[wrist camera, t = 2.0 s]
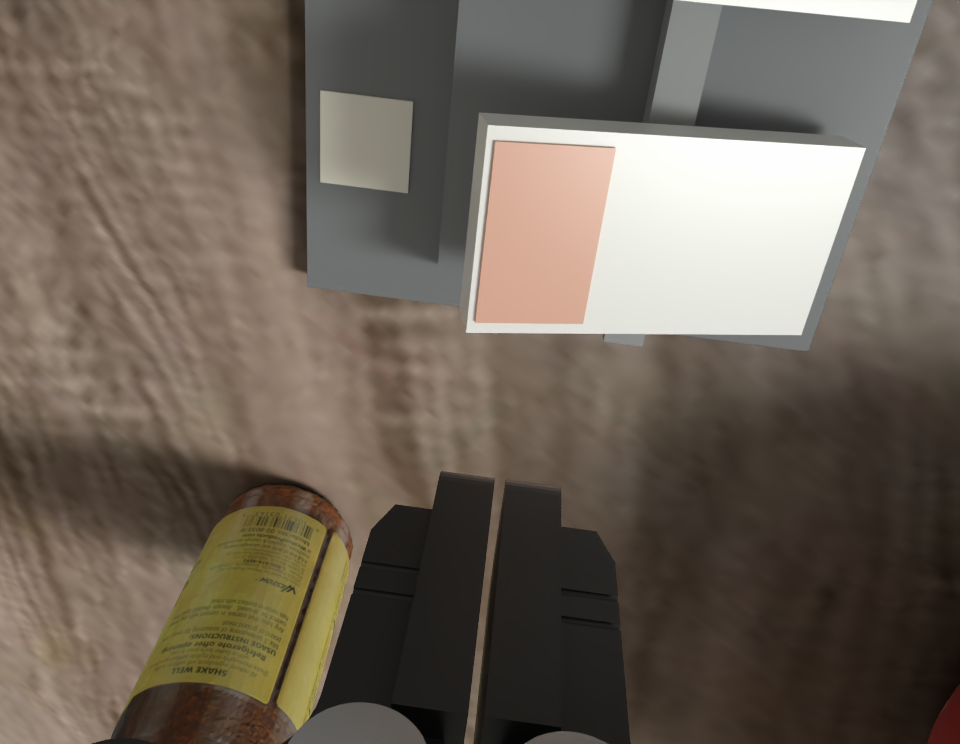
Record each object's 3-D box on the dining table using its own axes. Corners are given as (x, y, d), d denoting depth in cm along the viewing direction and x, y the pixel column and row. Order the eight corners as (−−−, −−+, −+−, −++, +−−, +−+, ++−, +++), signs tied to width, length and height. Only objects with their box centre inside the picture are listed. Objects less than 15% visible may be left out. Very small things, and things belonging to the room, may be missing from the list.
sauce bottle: (196, 513, 37) (-124, 1046, 19) (296, 454, 34) (34, 996, 17) (292, 602, 39) (81, 1147, 22) (391, 552, 37) (243, 1114, 20)
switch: (840, 135, 22) (868, 148, 21) (781, 316, 24) (803, 336, 23) (479, 112, 20) (488, 126, 19) (459, 312, 22) (466, 334, 21)
